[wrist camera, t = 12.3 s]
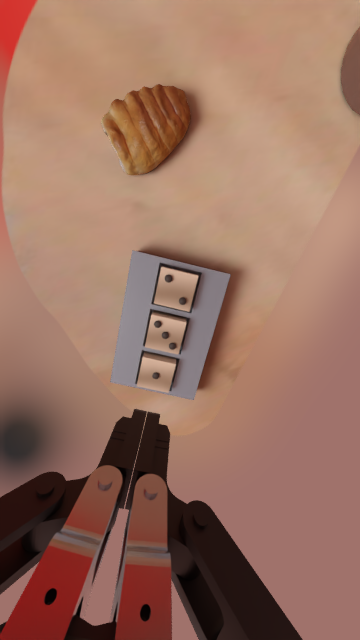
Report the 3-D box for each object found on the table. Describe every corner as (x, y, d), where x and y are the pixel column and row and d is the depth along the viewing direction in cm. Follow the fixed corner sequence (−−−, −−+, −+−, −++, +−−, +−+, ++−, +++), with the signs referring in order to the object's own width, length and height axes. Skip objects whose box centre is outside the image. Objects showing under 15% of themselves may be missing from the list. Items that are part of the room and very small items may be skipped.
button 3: (154, 309, 29) (151, 314, 26) (186, 317, 29) (186, 323, 26) (147, 340, 30) (144, 347, 27) (178, 347, 30) (178, 355, 27)
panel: (136, 251, 28) (132, 250, 25) (226, 273, 28) (230, 274, 26) (115, 373, 33) (110, 382, 30) (192, 389, 33) (193, 400, 31)
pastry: (172, 77, 23) (170, 43, 20) (201, 142, 25) (204, 122, 21) (100, 128, 25) (86, 105, 21) (132, 187, 26) (124, 175, 22)
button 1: (145, 349, 30) (142, 357, 28) (176, 356, 30) (175, 365, 28) (140, 376, 31) (136, 387, 29) (169, 382, 32) (168, 393, 29)
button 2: (163, 266, 27) (161, 266, 25) (197, 274, 27) (198, 275, 25) (156, 299, 28) (153, 303, 26) (188, 307, 29) (189, 312, 26)
